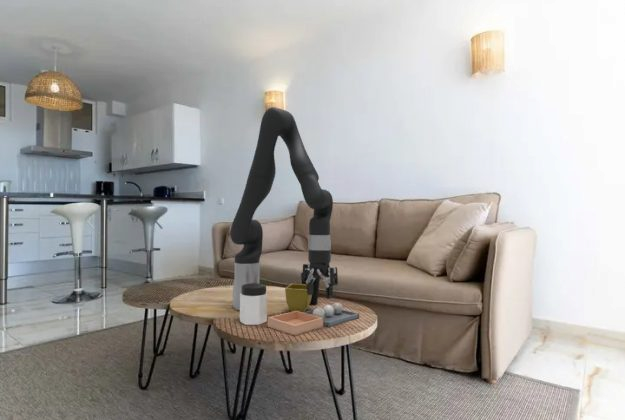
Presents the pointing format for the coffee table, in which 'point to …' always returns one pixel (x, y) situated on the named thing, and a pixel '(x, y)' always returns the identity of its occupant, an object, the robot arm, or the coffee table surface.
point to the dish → (295, 323)
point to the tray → (337, 317)
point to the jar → (253, 304)
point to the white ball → (318, 312)
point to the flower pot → (297, 297)
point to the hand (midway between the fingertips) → (319, 296)
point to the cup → (315, 290)
